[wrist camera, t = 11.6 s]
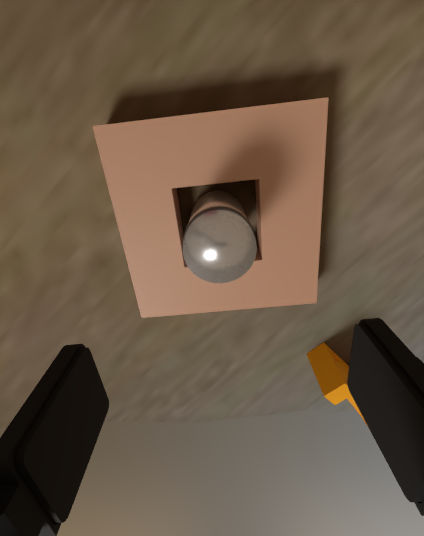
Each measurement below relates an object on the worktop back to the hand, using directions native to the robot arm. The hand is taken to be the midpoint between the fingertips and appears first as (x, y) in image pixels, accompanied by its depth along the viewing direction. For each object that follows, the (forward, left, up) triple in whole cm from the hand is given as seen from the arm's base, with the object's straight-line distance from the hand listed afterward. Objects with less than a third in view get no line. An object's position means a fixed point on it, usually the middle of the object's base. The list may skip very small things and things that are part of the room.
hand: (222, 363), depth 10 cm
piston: (0, 0, -20) cm, 20 cm away
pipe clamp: (+22, +15, -20) cm, 33 cm away
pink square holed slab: (0, 0, -20) cm, 20 cm away
